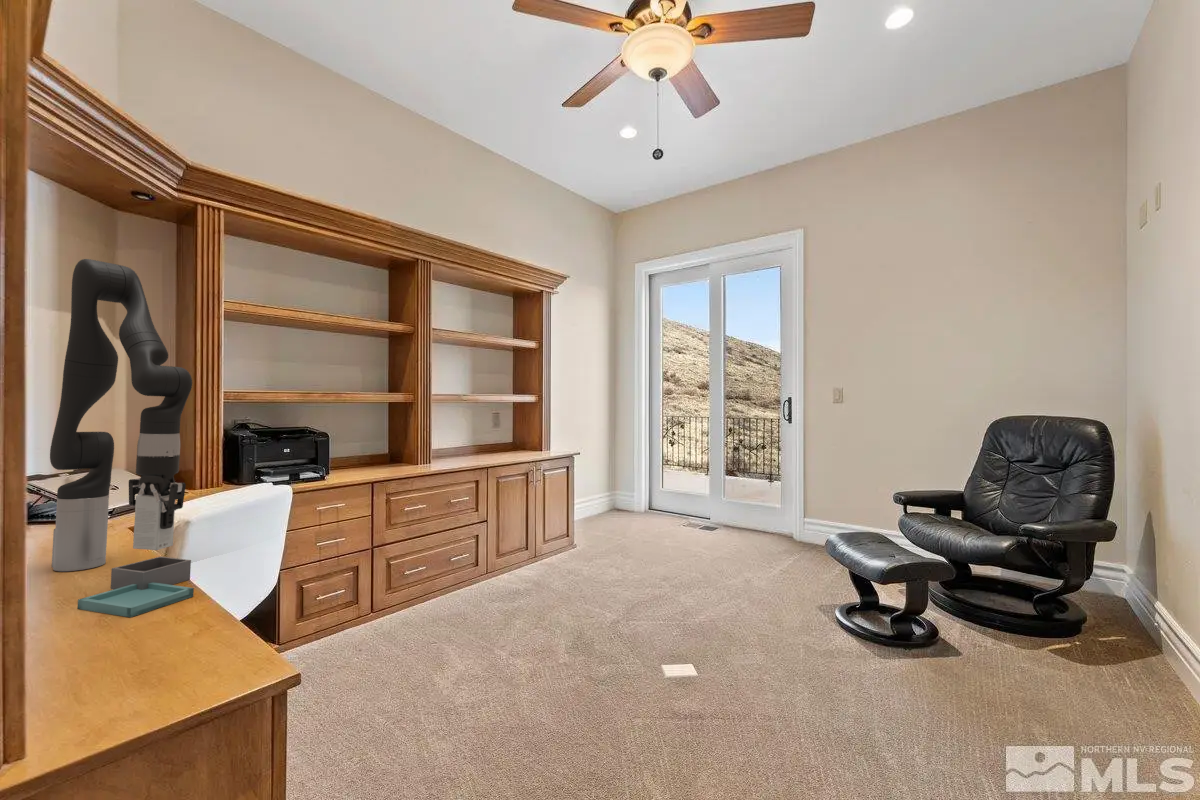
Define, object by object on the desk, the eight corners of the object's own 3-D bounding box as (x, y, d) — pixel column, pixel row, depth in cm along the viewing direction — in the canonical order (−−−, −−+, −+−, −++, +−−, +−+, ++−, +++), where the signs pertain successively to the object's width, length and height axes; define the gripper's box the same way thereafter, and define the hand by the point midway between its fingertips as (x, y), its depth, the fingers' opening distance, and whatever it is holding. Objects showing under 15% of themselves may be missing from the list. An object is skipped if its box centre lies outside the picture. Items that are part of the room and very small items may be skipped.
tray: (77, 608, 103) (77, 599, 103) (143, 589, 115) (144, 581, 115) (130, 617, 100) (131, 607, 100) (193, 596, 111) (193, 588, 111)
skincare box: (173, 546, 121) (176, 493, 121) (156, 550, 116) (159, 497, 116) (149, 544, 121) (152, 492, 121) (131, 548, 117) (134, 495, 117)
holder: (110, 589, 114) (111, 568, 114) (159, 575, 124) (160, 556, 124) (142, 593, 112) (143, 572, 112) (190, 579, 122) (190, 560, 122)
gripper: (116, 452, 117) (111, 527, 117) (165, 456, 114) (161, 533, 113) (152, 449, 124) (148, 520, 124) (199, 454, 121) (195, 526, 121)
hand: (154, 526), depth 119 cm, fingers closed on skincare box, 6 cm apart
